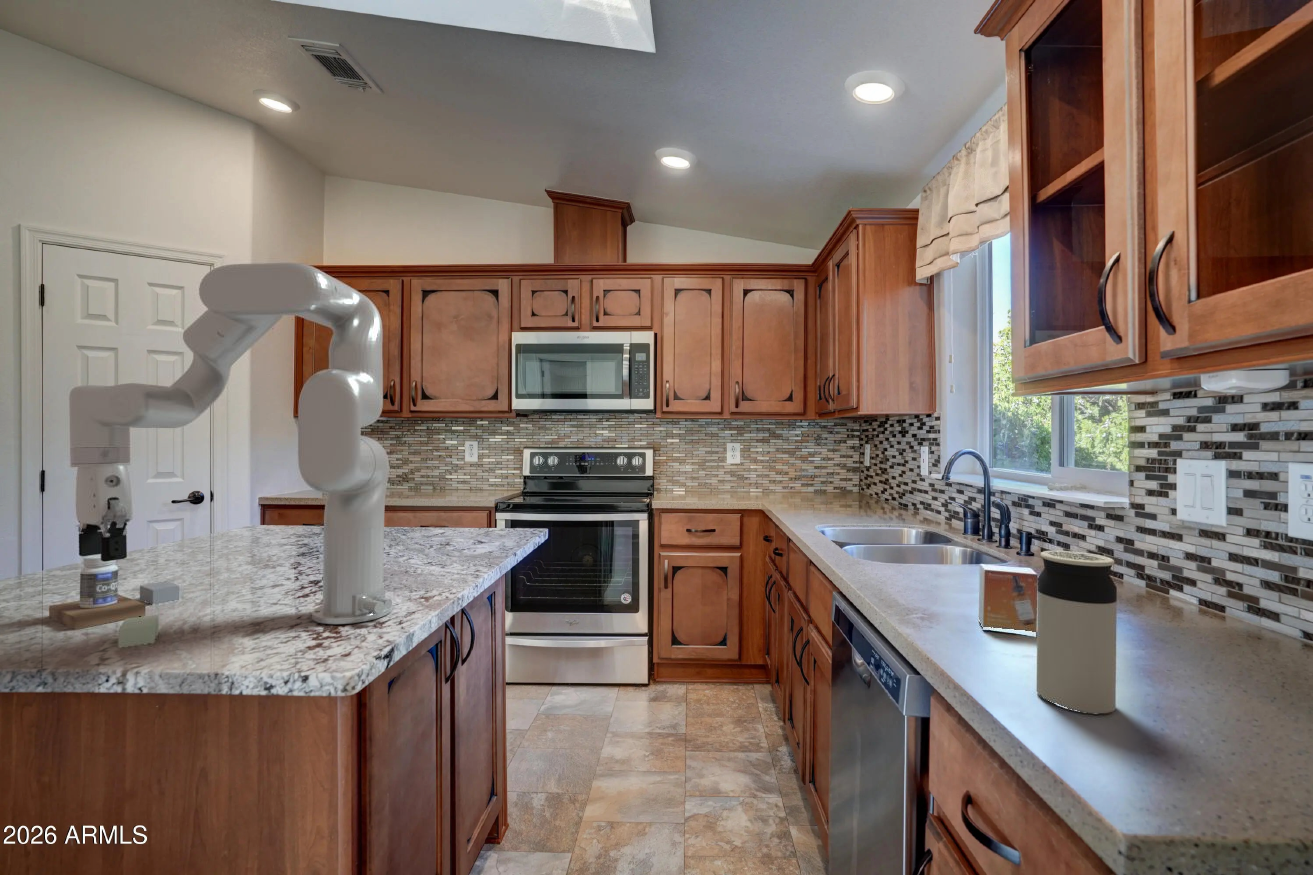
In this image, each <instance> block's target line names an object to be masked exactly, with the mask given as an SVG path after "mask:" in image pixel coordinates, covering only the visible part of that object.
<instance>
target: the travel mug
mask: <svg viewBox="0 0 1313 875" xmlns="http://www.w3.org/2000/svg"><path fill="white" fill-rule="evenodd" d="M1039 556H1040V557H1041V558H1042V560H1043V561H1042V562H1043V566H1044V567H1043V570H1042V571H1041V573H1040V574H1039V575H1038V591H1037V636H1036V693H1037V692H1038V693H1039V694H1038V693H1037V694H1038V696H1040V695H1041V696H1042V697H1044V698H1045V699H1047V700H1049V701H1051V702H1053V703H1057V704H1059V705H1061V706H1064V707H1067V708H1068V709H1072V710H1077V711H1080V712H1086V713H1104V714H1109V713H1111V712H1114V711H1115V710H1116V694H1117V693H1116V692H1117V689H1116V687H1117V682H1116V681H1117V616H1118V615H1117V611H1118V610H1117V605H1118V604H1117V599H1118V591H1117V590H1118V587H1117V586H1116V583H1114V580H1113V579H1112V577H1111V570H1112V567H1113V565H1114V564H1115V560H1114V559H1113V558H1111V557H1108V556H1104V555H1101V554H1096V553H1091V552H1082V551H1072V550H1044V551H1042V552H1041V551H1040V554H1039ZM1041 696H1040V697H1041ZM1042 697H1041V698H1042ZM1044 698H1043V699H1044ZM1045 699H1044V700H1045ZM1047 700H1046V701H1047ZM1086 713H1085V714H1086Z"/></svg>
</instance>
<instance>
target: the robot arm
mask: <svg viewBox="0 0 1313 875" xmlns="http://www.w3.org/2000/svg"><path fill="white" fill-rule="evenodd" d="M198 295H199V298H200V301H201V303H202V305H204V306H205V308H206V309H207V310H205V311H204V312H203V313H202V314H201V315H200V316H199V317H198V318H196V319H195V320H194V321H193V323H192V324H190V325H189V326H187V328H185V330H184V331H183V333H182V340H183V343H184V344H185V346H186V347H187V348H188V349H189V351H190V352H192V356H193V357H192V362H190V366H189V367H188V368H187V370H186V371H185V372H184V373H183V374H182V375H181V376H180V377H178V379H177V380H175V382H173V383H172V384H171V385H170V386H168V385H167V386H165V385H158V384H146V383H138V382H137V383H135V382H134V383H132V382H130V383H122V384H113V385H94V384H93V385H88V384H87V385H78V386H74V387H73V388H72V389H70V392H69V395H68V397H69V398H68V400H69V405H68V406H69V409H68V410H69V457H70V458H69V461H70V462H69V463H70V468H77V469H76V478H75V479H76V482H75V515H76V519H77V521H78V523H79V524H78V525H79V526H78V528H77V529H78V556H79V557H87V556H93V555H101V561H104V562H106V561H113V560H116V561H119V560H125V559H127V557H128V555H127V554H128V552H127V549H128V547H127V546H128V545H127V538H128V536H127V534H128V529H127V526H128V523H129V522H131V521H132V520H133V517H134V515H133V500H132V498H133V497H132V489H131V488H132V486H131V480H130V472H129V469H128V466H131V439H130V437H131V433H130V432H131V431H130V428H135V429H137V428H139V429H177V428H181V427H185V426H187V425H189V424H190V423H192V422H195V421H196V420H197V419H198V418H199V417H200V416H201V415H203V414H204V413H205V412H206V411H207V410H208V409H209V408H210V407H212V405H213V404H214V403H216V401H218V399H219V397H221V396H222V394H223V392H224V390H225V388H226V386H227V384H228V381H229V379H230V374H231V370H232V369H231V368H232V367H233V365H234V364H235V363H236V362H237V361H238V360H239V359H240V358H241V357H243V355H245V353H246V352H247V351H249V349H251V348H252V347H253V346H254V345H255V344H256V343H257V342H258V341H259V340H261V338H263V336H264V335H266V334H267V333H268V332H269V331H270V330H271V329H273V327H275V325H276V324H277V323H278V322H279V321H280V320H281V319H283V317H284V316H296V317H300V318H302V319H305V320H307V321H310V322H314V323H315V324H319V325H322V326H324V327H328V328H330V329H331V330H332V332H333V333H332V336H331V339H330V343H329V346H328V369H323V370H319V371H317V372H315V373H314V374H313V375H311V376H310V377H309V378H308V379H307V380H306V382H305V383H303V384H304V385H303V387H302V389H301V392H300V394H299V398H298V404H297V405H298V408H297V409H298V410H297V411H298V412H297V414H298V415H297V416H298V417H297V420H298V421H297V459H298V460H297V462H298V469H299V473H300V475H301V477H302V479H303V480H304V483H305V484H306V485H307V486H308V487H309V488H311V489H312V490H314V491H316V492H319V493H322V494H327V495H326V496H327V497H326V500H325V501H326V502H325V504H324V512H323V543H322V544H323V549H322V550H323V553H322V554H323V557H322V558H323V560H322V562H323V563H322V567H323V568H322V605H321V606H318V607H316V608H315V609H313V611H312V612H311V617H312V619H311V620H313V621H314V622H317V623H319V624H324V625H325V624H327V625H348V624H358V623H362V622H369V621H372V620H377V619H380V618H382V617H385V616H387V615H388V614H390V613H391V612H392V610H393V600H392V599H391V598H386V588H384V553H385V551H384V550H385V549H384V546H385V545H384V542H385V508H386V507H385V506H386V494H387V488H388V487H387V486H388V480H389V474H390V461H389V457H388V454H387V451H386V450H385V448H384V447H383V445H381V444H380V443H379V442H378V441H377V440H375V439H373V438H371V437H369V436H365V435H361V434H362V433H361V430H362V428H364V427H367V426H371V425H372V424H374V423H375V422H376V421H377V420H379V418H380V416H381V414H382V411H383V406H384V391H383V388H384V387H383V386H384V383H383V382H384V381H383V380H384V378H383V377H384V376H383V375H384V374H383V372H384V369H383V368H384V366H383V365H384V363H383V361H384V360H383V338H384V337H383V336H384V335H383V321H382V318H381V315H380V312H379V310H378V308H377V306H376V305H375V304H374V303H373V302H372V301H371V299H369V298H368V297H367V296H366V295H364V294H363V293H361V292H360V291H358V290H357V289H355V288H353V287H351V286H349V285H348V284H346V283H344V282H342V281H340V280H339V279H337V278H335V277H333V276H330V275H329V274H327V273H326V272H324V271H322V270H320V269H318V268H316V267H314V266H312V265H309V264H307V263H306V264H305V263H300V262H271V263H270V262H269V263H268V262H265V263H262V262H261V263H237V264H236V263H234V264H226V265H221V266H218V267H215V268H214V269H211V270H210V271H209V272H207V273H206V274H205V275H204V276H203V278H202V279H201V281H200V283H199V287H198Z"/></svg>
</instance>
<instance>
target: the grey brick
mask: <svg viewBox="0 0 1313 875" xmlns="http://www.w3.org/2000/svg"><path fill="white" fill-rule="evenodd" d="M141 600H142V601H141ZM175 600H178V601H180V585H179V584H175V583H172V582H170V581H166V580H165V581H159V582H153V583H148V584H141V585H139V601H141V602H143V601H146V602H148V603H147V604H149V603H150V604H149V605H151V604H156V605H160V604H159V603H162V604H165V603H164V602H167V603H170V602H169V601H172V602H176V601H175ZM146 602H145V603H146Z"/></svg>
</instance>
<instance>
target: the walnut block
mask: <svg viewBox="0 0 1313 875" xmlns="http://www.w3.org/2000/svg"><path fill="white" fill-rule="evenodd" d="M146 604H147V603H145V602H142V601H138V600H135V599H133V598H130V597H127V596H124V595H121V594H118V593H117V602H116V603H115V604H112V605H109V606H104V607H98V608H81V607H80V600H75V601H70V602H64V603H57V604H52V605H49V607H48V618H49V619H51V620H53V621H55V622H58V623H60V624H62V625H64V626H66V627H68V628H70V629H71V630H81V629H85V628H89V627H90V628H91V627H96V626H100V625H105V623H106V624H110V623H109V622H111V623H116V622H121V621H124V620H125V619H129V618H137V617H139V616H141V617H144V616H143V615H145V616H146V607H147V606H146ZM95 625H96V626H95Z"/></svg>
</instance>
